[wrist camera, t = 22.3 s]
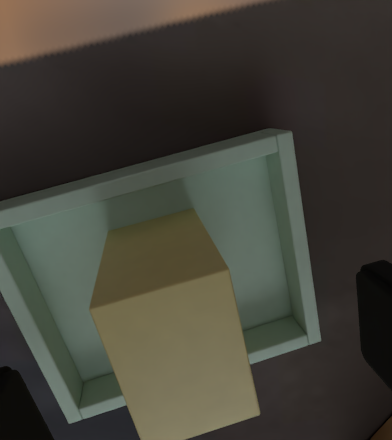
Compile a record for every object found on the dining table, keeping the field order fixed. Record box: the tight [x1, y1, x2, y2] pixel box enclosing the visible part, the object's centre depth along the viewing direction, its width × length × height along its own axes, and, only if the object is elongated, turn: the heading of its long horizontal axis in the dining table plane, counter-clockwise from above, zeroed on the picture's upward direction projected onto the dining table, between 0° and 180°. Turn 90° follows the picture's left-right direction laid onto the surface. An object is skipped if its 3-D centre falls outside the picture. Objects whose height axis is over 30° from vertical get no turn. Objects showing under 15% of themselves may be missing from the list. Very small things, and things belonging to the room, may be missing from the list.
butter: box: [89, 208, 260, 440], centre depth 11 cm, size 5×4×6 cm
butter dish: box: [0, 128, 321, 423], centre depth 14 cm, size 11×9×2 cm
